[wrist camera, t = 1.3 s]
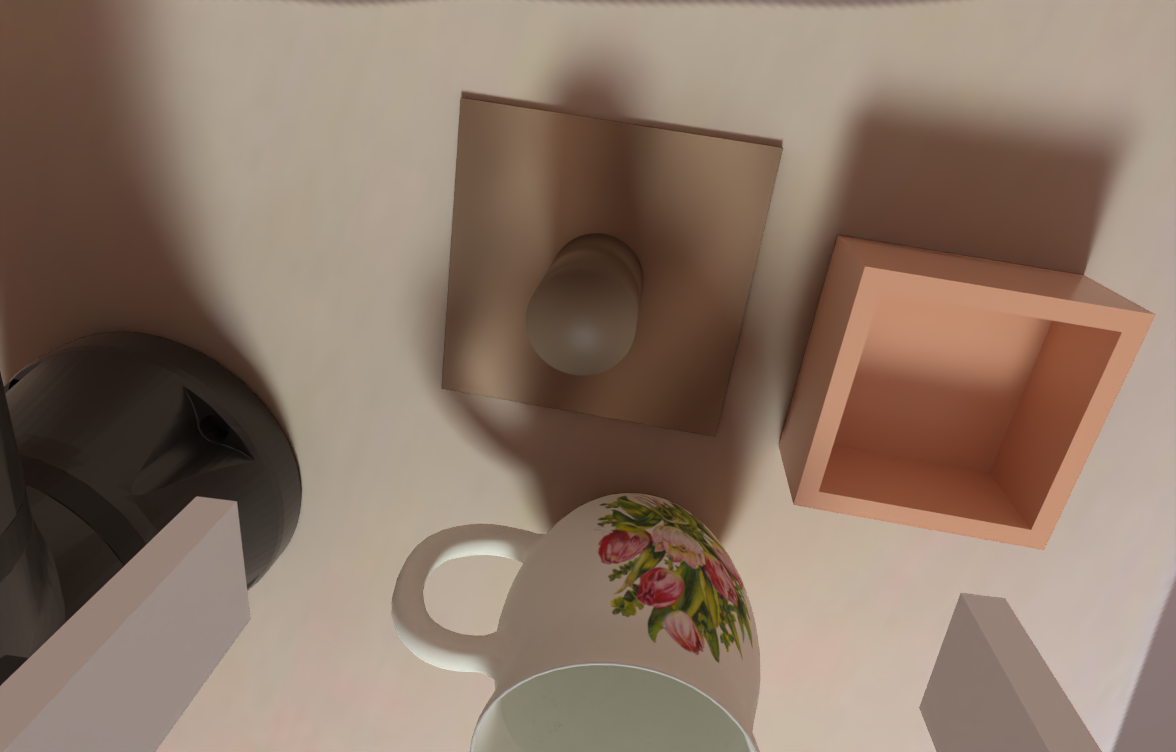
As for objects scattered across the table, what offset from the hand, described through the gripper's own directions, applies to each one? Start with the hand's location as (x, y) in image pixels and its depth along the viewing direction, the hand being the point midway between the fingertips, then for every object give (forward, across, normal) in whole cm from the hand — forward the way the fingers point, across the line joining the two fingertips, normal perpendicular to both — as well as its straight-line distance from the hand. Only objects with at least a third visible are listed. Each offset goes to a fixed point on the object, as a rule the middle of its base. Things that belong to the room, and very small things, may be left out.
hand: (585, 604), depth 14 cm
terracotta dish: (+20, +13, -2) cm, 24 cm away
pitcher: (+21, +1, -14) cm, 25 cm away
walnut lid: (+21, -1, 0) cm, 21 cm away
